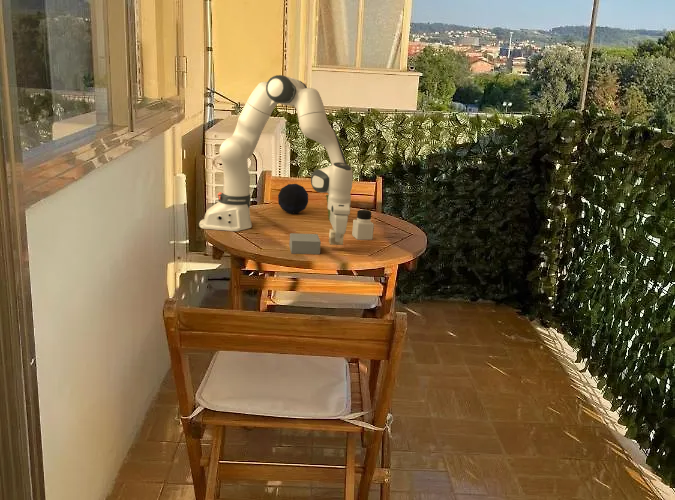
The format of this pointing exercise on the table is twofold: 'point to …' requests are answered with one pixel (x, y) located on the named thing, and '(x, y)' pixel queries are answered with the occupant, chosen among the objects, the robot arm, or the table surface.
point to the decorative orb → (293, 198)
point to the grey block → (304, 243)
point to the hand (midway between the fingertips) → (336, 239)
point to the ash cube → (332, 238)
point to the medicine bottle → (363, 226)
